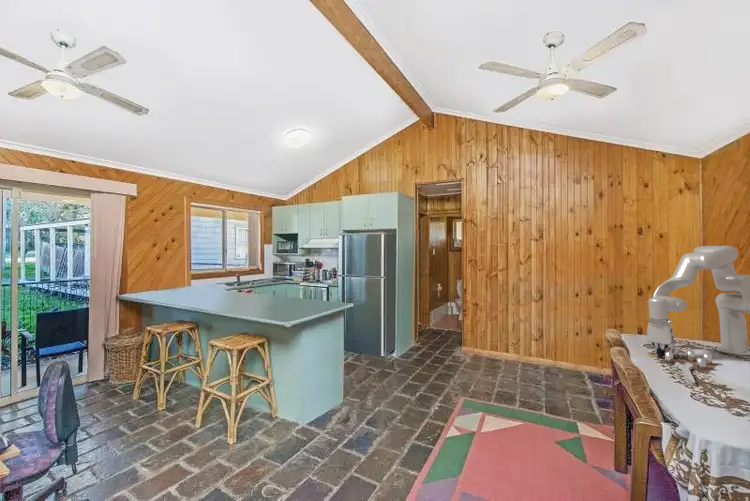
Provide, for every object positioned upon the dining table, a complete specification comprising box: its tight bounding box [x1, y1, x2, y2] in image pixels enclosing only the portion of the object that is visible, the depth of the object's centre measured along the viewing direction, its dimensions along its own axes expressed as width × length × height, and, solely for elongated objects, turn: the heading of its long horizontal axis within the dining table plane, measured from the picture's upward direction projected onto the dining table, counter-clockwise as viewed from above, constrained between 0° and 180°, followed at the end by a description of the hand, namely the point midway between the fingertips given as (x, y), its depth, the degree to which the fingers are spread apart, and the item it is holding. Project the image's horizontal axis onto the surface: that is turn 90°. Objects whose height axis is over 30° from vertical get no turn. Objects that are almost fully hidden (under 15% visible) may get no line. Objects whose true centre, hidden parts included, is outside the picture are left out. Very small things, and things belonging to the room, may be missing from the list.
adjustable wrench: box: [674, 362, 696, 386], centre depth 145 cm, size 25×6×2 cm, turn 137°
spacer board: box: [658, 356, 719, 373], centre depth 157 cm, size 16×18×1 cm
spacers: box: [664, 347, 713, 371], centre depth 157 cm, size 13×15×5 cm
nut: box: [646, 351, 659, 359], centre depth 168 cm, size 4×5×2 cm
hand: (661, 356), depth 165 cm, fingers closed
